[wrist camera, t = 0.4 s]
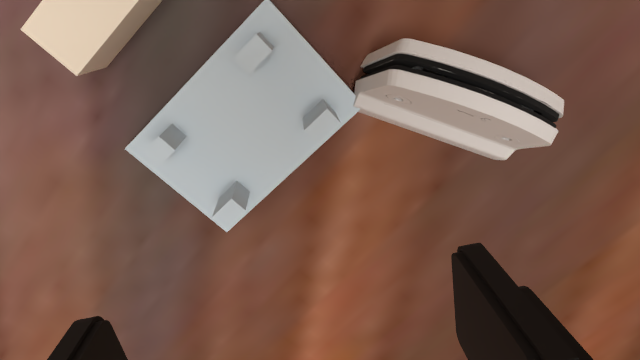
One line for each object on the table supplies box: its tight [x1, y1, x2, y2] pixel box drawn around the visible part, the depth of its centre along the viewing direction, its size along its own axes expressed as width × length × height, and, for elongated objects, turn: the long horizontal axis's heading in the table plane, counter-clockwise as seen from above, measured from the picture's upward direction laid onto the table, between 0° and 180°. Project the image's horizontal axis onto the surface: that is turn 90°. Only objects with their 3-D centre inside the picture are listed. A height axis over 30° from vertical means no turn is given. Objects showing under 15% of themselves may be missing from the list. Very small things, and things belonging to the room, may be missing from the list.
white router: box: [353, 38, 564, 160], centre depth 35 cm, size 17×5×10 cm, turn 70°
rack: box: [125, 0, 360, 232], centre depth 35 cm, size 18×12×6 cm, turn 133°
